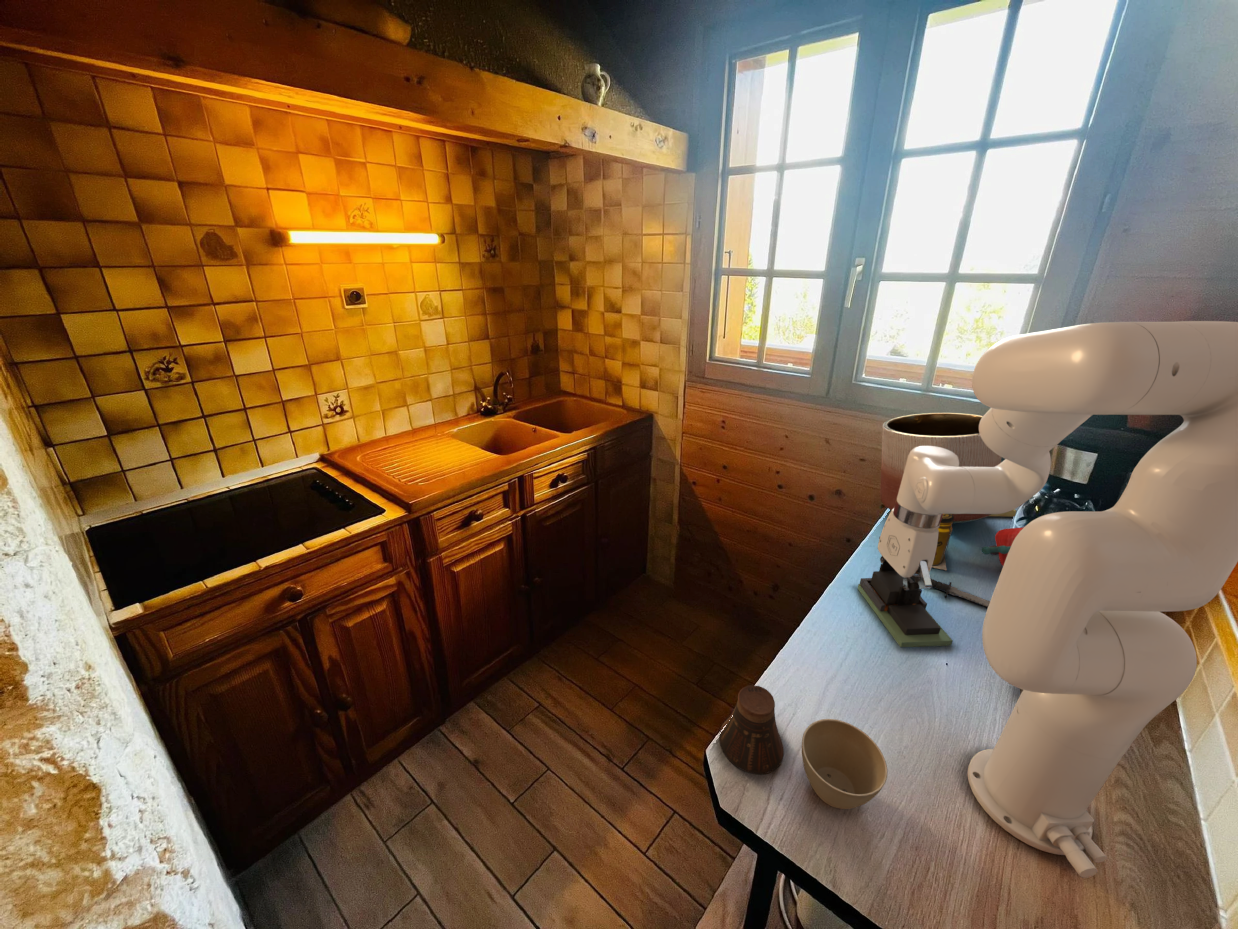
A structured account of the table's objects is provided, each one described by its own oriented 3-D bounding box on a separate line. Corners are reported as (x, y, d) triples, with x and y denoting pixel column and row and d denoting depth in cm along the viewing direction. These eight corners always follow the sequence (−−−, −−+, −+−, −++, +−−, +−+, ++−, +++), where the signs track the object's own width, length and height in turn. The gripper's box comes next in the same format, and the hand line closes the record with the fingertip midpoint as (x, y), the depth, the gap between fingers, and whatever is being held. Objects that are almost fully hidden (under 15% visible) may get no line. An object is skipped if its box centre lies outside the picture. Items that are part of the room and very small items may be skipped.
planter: (906, 483, 144) (908, 409, 137) (1012, 501, 124) (1021, 416, 117) (861, 511, 130) (862, 430, 123) (973, 536, 110) (981, 442, 103)
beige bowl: (780, 789, 65) (787, 754, 62) (814, 739, 71) (823, 705, 68) (856, 850, 58) (868, 814, 55) (886, 789, 65) (899, 754, 62)
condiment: (908, 562, 109) (922, 516, 104) (908, 542, 116) (921, 498, 111) (946, 571, 106) (962, 524, 101) (943, 551, 113) (959, 506, 108)
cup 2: (814, 715, 65) (794, 757, 70) (763, 664, 71) (748, 706, 76) (769, 749, 60) (751, 791, 66) (719, 692, 67) (706, 734, 72)
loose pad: (918, 604, 93) (922, 590, 92) (886, 605, 93) (890, 591, 92) (899, 583, 99) (903, 570, 98) (869, 584, 99) (873, 571, 98)
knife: (1022, 605, 94) (1020, 619, 91) (1018, 612, 95) (1016, 627, 91) (911, 564, 105) (905, 576, 102) (908, 572, 106) (903, 583, 102)
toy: (1046, 570, 112) (963, 577, 111) (1036, 526, 114) (954, 532, 113) (1127, 572, 95) (1030, 580, 94) (1113, 520, 97) (1018, 527, 96)
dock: (951, 645, 87) (955, 634, 86) (900, 647, 87) (904, 636, 86) (900, 587, 101) (903, 576, 100) (857, 588, 101) (859, 577, 100)
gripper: (872, 491, 96) (854, 565, 104) (926, 540, 80) (900, 624, 88) (910, 490, 96) (889, 564, 104) (970, 539, 81) (940, 622, 88)
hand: (894, 591), depth 96 cm, fingers closed on loose pad, 6 cm apart
